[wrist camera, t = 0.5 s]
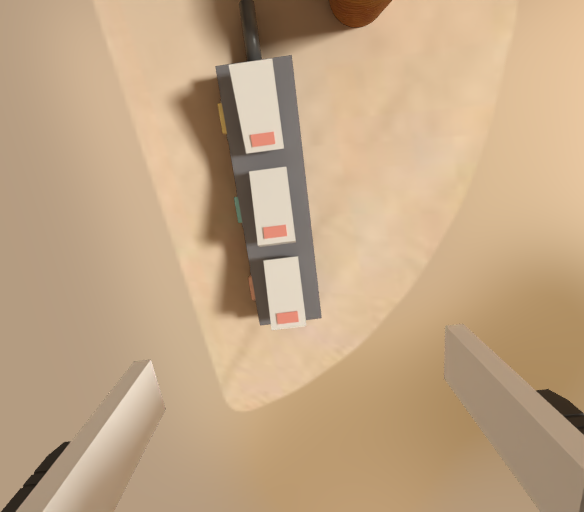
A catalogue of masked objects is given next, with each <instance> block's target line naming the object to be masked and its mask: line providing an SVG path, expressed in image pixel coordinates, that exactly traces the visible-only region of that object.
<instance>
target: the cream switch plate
mask: <svg viewBox="0 0 584 512" xmlns="http://www.w3.org/2000/svg"><path fill="white" fill-rule="evenodd" d="M249 175H250V183H251V191H252V200H253V208H254V217H255V225H256V234H257V242H258V246H260V247H263V246H271V245H279V244H287V243H294V242H296V239H295V231H294V223H293V215H292V207H291V199H290V191H289V183H288V175H287V168H286V167H279V168H272V169H264V170H257V171H249Z"/></svg>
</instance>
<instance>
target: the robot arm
mask: <svg viewBox="0 0 584 512" xmlns="http://www.w3.org/2000/svg"><path fill="white" fill-rule="evenodd" d="M444 379H445V380H446V382H447V383H448V384H449V386H450V387H451V389H452V390H453V391H454V393H455V394H456V396H457V397H458V398H459V400H460V401H461V403H462V404H463V405H464V407H465V408H466V409H467V411H468V412H469V414H470V415H471V416H472V418H473V419H474V421H475V422H476V423H477V425H478V426H479V428H480V429H481V430H482V432H483V433H484V435H485V436H486V437H487V438H488V440H489V441H490V443H491V444H492V446H493V447H494V448H495V450H496V451H497V453H498V454H499V455H500V457H501V458H502V460H503V461H504V462H505V464H506V465H507V466H508V468H509V469H510V471H511V472H512V473H513V475H514V476H515V478H516V479H517V480H518V482H519V483H520V484H521V486H522V487H523V489H524V490H525V491H526V493H527V494H528V496H529V497H530V498H531V500H532V501H533V503H534V504H535V505H536V507H537V508H538V509H539V511H540V512H584V414H583V412H581V411H580V410H579V409H578V408H576V407H575V406H574V405H573V404H572V403H571V402H570V401H568V400H567V399H565V398H563V397H561V396H560V395H558V394H556V393H554V392H552V391H550V390H549V389H546V390H537V391H535V390H534V389H533V388H532V387H531V386H530V385H529V384H528V383H527V382H526V381H525V380H524V379H522V378H521V377H520V376H519V375H518V374H517V373H516V372H515V371H514V370H513V369H512V368H510V367H509V366H508V365H507V364H506V363H505V362H504V361H503V360H502V359H501V358H500V357H499V356H497V355H496V354H495V353H494V352H493V351H492V350H491V349H490V348H489V347H488V346H487V345H486V344H484V343H483V342H482V341H481V340H480V339H479V338H478V337H477V336H476V335H475V334H474V333H473V332H471V331H470V330H469V329H468V328H467V327H466V326H465V325H464V324H457V325H448V326H445V363H444ZM165 410H166V408H165V405H164V401H163V398H162V395H161V391H160V388H159V385H158V381H157V378H156V375H155V372H154V368H153V365H152V362H151V360H142V361H134V362H133V364H132V365H131V366H130V367H129V369H128V370H127V371H126V372H125V374H124V375H123V376H122V377H121V379H120V380H119V381H118V383H117V384H116V385H115V386H114V388H113V389H112V390H111V392H110V393H109V394H108V395H107V396H106V398H105V399H104V400H103V402H102V403H101V404H100V405H99V407H98V408H97V409H96V411H95V412H94V413H93V415H91V417H90V418H89V419H88V421H87V422H86V423H85V424H84V426H83V427H82V428H81V430H80V431H79V432H78V433H77V435H76V436H75V437H74V438H73V440H72V441H70V442H64V443H63V444H61V445H60V446H59V447H58V448H57V449H55V450H54V451H53V452H52V453H51V454H49V455H48V456H47V457H46V458H45V460H44V461H43V462H42V463H41V465H40V466H39V467H38V468H37V469H36V470H35V472H34V475H31V477H30V478H29V479H28V480H27V481H26V482H25V484H24V485H23V488H21V489H20V490H19V491H18V492H17V493H16V495H15V496H14V497H13V498H12V499H11V500H10V502H9V503H8V504H7V505H6V507H5V508H4V509H3V510H2V511H1V512H114V510H115V508H116V506H117V504H118V502H119V501H120V499H121V496H122V495H123V493H124V491H125V489H126V487H127V485H128V482H129V481H130V479H131V477H132V475H133V473H134V471H135V469H136V467H137V465H138V463H139V461H140V459H141V457H142V455H143V453H144V451H145V449H146V447H147V445H148V443H149V441H150V439H151V437H152V435H153V433H154V431H155V429H156V427H157V425H158V423H159V421H160V420H161V418H162V415H163V414H164V411H165Z"/></svg>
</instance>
